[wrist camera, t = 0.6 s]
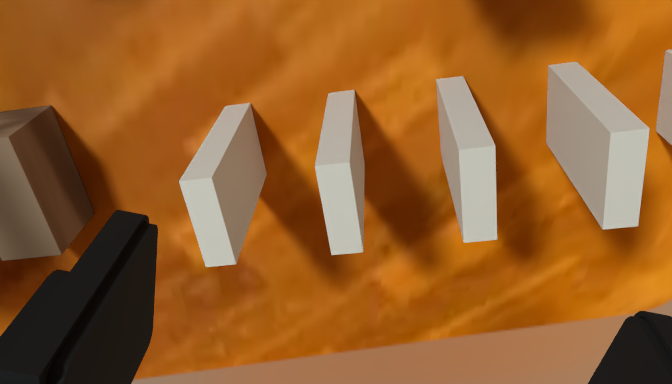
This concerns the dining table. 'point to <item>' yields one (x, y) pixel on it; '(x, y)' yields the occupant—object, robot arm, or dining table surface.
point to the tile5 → (225, 185)
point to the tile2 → (597, 144)
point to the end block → (38, 186)
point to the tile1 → (666, 100)
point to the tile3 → (467, 160)
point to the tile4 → (342, 173)
